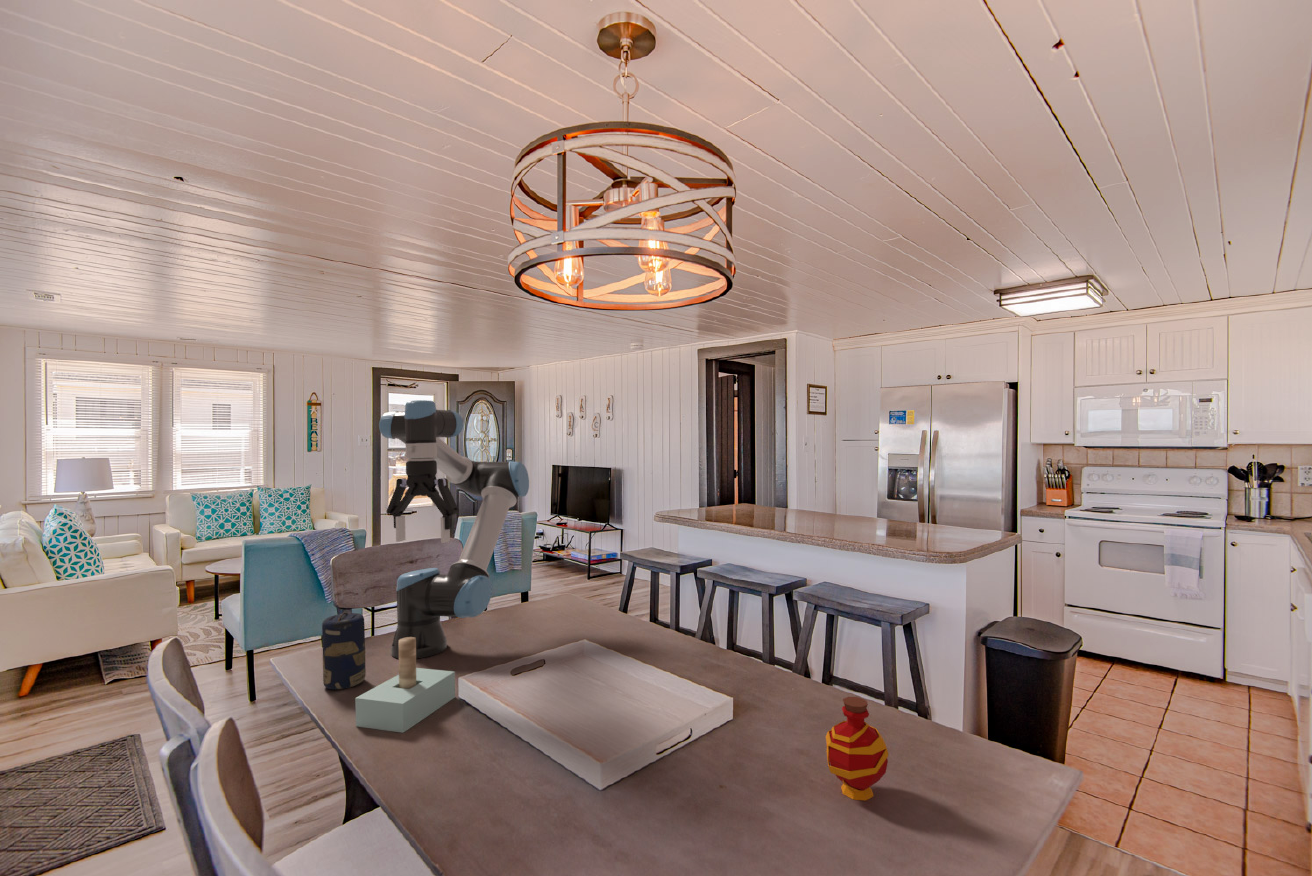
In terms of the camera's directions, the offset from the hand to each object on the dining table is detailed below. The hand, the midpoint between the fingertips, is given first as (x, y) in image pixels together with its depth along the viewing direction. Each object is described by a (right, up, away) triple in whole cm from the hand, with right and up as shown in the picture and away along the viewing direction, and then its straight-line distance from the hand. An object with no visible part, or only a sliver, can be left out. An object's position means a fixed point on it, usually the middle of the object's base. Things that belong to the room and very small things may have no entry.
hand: (422, 541), depth 157 cm
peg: (+5, -34, -21) cm, 41 cm away
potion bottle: (+94, -33, -56) cm, 114 cm away
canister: (-18, -35, -5) cm, 40 cm away
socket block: (+5, -34, -21) cm, 41 cm away
